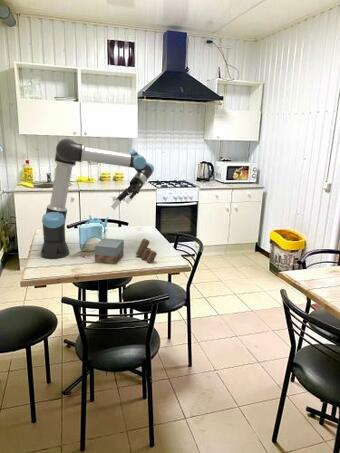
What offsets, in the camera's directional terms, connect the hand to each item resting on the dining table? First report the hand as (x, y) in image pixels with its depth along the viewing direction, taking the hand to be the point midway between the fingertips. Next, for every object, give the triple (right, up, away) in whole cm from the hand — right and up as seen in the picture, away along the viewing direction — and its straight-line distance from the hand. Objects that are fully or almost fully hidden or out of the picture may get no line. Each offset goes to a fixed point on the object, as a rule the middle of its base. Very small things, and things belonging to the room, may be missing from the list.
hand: (119, 205), depth 192 cm
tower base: (-6, -31, 0) cm, 31 cm away
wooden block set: (+14, -30, +4) cm, 34 cm away
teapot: (-23, -16, +49) cm, 56 cm away
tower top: (-5, -26, -1) cm, 26 cm away
